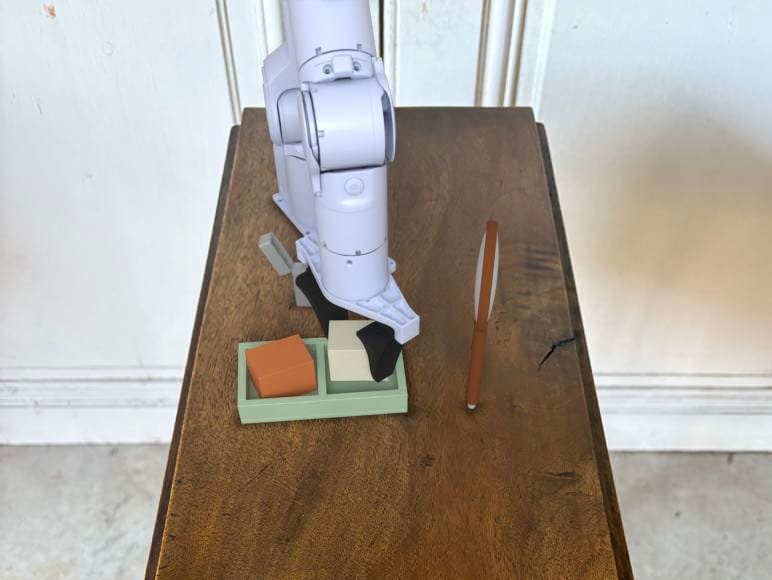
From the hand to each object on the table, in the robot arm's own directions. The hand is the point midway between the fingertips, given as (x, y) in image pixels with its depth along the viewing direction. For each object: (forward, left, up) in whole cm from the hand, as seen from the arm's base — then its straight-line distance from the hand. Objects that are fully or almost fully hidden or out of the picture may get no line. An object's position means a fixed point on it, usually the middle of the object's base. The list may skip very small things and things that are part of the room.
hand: (359, 355), depth 76 cm
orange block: (-3, -7, -3) cm, 8 cm away
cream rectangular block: (0, 0, -1) cm, 1 cm away
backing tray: (-2, -3, -4) cm, 5 cm away
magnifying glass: (+8, +8, -4) cm, 12 cm away
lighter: (-14, +1, -4) cm, 14 cm away
